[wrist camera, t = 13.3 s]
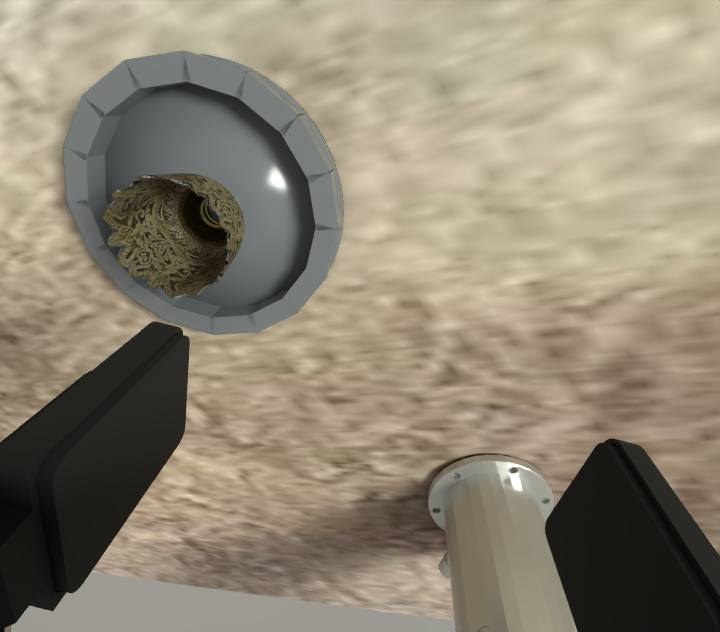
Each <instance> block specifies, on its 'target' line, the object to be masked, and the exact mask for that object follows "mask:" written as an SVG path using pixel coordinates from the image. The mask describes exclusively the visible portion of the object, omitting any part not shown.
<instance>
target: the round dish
mask: <svg viewBox="0 0 720 632" xmlns="http://www.w3.org/2000/svg"><path fill="white" fill-rule="evenodd" d="M63 153H64V168H65V184H66V199H67V201H69V202H67V203H68V206H69V208H70V210H71V213H72V215H73V217H74V220H75V222H76V224H77V226H78V229H79V231H80V233H81V236H82V238H83V240H84V243H85V245H86V247H87V249H88V252H90V254H91V256H92V257H93V258H94V259H95V260H96V262H97V263H98V264H99V265H100V266H101V267H102V269H103V270H104V271H105V272H106V273H107V274H108V276H109V277H110V278H111V279H112V280H113V281H114V283H115V284H116V285H117V286H118V287H119V288H120V290H121V291H122V292H123V293H125V295H127V296H128V297H130V298H131V299H133V300H134V301H136V302H137V303H139V304H141V305H142V306H144V307H145V308H147V309H148V310H150V311H151V312H153V313H154V314H156V315H157V316H159V317H160V318H162V319H164V320H165V321H167V320H168V322H170V323H173V324H177V325H180V326H184V327H187V328H191V329H194V330H198V331H201V332H205V333H208V334H212V335H220V334H237V333H254V332H259V331H261V330H264V329H266V328H268V327H270V326H272V325H274V324H276V323H278V322H280V321H282V320H284V319H286V318H288V317H290V316H293V315H295V314H297V313H298V312H299V310H300V309H301V308H302V307H303V306H304V304H305V303H306V302H307V301H308V299H309V298H310V297H311V296H312V295H313V293H314V292H315V291H316V290H317V289H318V287H319V286H320V285H321V284H322V282H323V281H324V280H325V279H326V277H327V274H328V272H329V270H330V267H331V265H332V264H333V262H334V259H335V256H336V253H337V250H338V248H339V245H340V240H341V234H342V229H343V215H344V209H343V195H342V189H341V184H340V179H339V175H338V172H337V169H336V165H335V162H334V159H333V157H332V155H331V152H330V150H329V148H328V146H327V144H326V142H325V140H324V138H323V136H322V135H321V133H320V132H319V130H318V128H317V127H316V125H315V124H314V122H313V121H312V119H311V118H310V117H309V116H308V114H307V113H306V112H305V111H304V110H303V108H302V107H301V106H300V105H299V104H298V103H297V102H296V101H295V100H294V99H293V98H292V97H291V96H290V95H289V94H288V93H287V92H286V91H285V90H283V89H282V88H281V87H279V86H278V85H277V84H275V83H274V82H273V81H271V80H270V79H269V78H267V77H265V76H263V75H262V74H260V73H258V72H256V71H255V70H253V69H251V68H249V67H246V66H244V65H241V64H239V63H236V62H234V61H231V60H227V59H223V58H219V57H215V56H210V55H203V54H196V53H192V52H188V51H177V52H171V53H165V54H158V55H152V56H146V57H140V58H133V59H127V60H126V61H125V60H124V61H123V62H121V63H120V64H119V65H118V66H117V67H115V68H114V69H113V70H112V71H111V72H109V73H108V74H107V75H106V76H105V77H103V78H102V79H101V80H100V81H99V82H97V83H96V84H95V85H94V86H93V87H91V88H90V89H89V90H88V91H87V92H85V93H84V94H83V96H82V97H81V100H80V102H79V105H78V108H77V110H76V113H75V116H74V118H73V121H72V124H71V126H70V129H69V132H68V134H67V137H66V139H65V142H64V147H63ZM177 173H187V174H197V175H201V176H205V177H208V178H210V179H213V180H215V181H217V182H218V183H220V184H221V185H223V186H224V187H225V188H226V189H227V190H228V191H229V192H230V193H231V194H232V195H233V196H234V198H235V199H236V201H237V202H238V204H239V206H240V208H241V211H242V214H243V218H244V225H245V230H244V237H243V241H242V244H241V247H240V249H239V251H238V253H237V255H236V256H235V258H234V260H233V261H232V263H231V264H230V266H229V267H228V269H227V270H226V271H225V273H224V275H223V276H222V278H221V279H220V281H219V282H218V283H217V284H216V282H215V283H214V284H213V285H212V286H209V287H207V288H205V289H204V290H203V291H202V293H201V294H199V295H198V296H196V297H190V295H188V296H183V297H180V298H170V297H169V296H168V295H166V294H165V293H164V291H163V289H161V288H157V289H152V290H149V289H148V284H147V283H148V279H149V278H144V279H142V278H140V277H133V276H129V274H128V272H129V269H128V267H124V266H122V265H120V264H119V262H118V259H117V256H118V254H119V252H120V250H121V249H122V247H123V246H122V247H115V246H111V245H109V244H108V243H107V242H108V238H109V237H110V235H112V234H113V231H112V229H111V228H110V227H109V226H108V225H107V224H106V223H105V222H104V220H103V217H104V214H105V212H106V209H107V208H108V206H109V205H110V204H111V203H112V202H113V201H114V199H112V198H111V196H112V194H113V193H114V192H115V191H116V190H118V189H123V188H126V187H128V186H129V185H130V184H131V182H133V181H136V178H135V177H138V176H145V175H162V174H177ZM208 212H209V214H210V216H211V217H212V218H213V219H214V220H216V221H219V217H218V216H217V214H216V213H215V212H214V211H213V210H211V209H210V208H209V206H208ZM117 246H120V245H117Z"/></svg>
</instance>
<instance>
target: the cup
mask: <svg viewBox="0 0 720 632" xmlns="http://www.w3.org/2000/svg"><path fill="white" fill-rule="evenodd" d="M135 178H136V181H133V182H131V184H130V185H129V186H128V187H126V188H123V189H118V190H116V191H115V192H114V193H113V194H112V196H111V198H112V199H114V201H113V202H112V203H111V204H110V205H109V206H108V208H107V209H106V212H105V214H104V217H103V220H104V222H105V223H106V224H107V225H108V226H109V227H110V228H111V229H112V231H113V234H112V235H110V237H109V238H108V242H107V243H108V244H109V245H111V246H115V247H122V246H123V247H122V249H121V250H120V252H119V254H118V256H117V259H118V262H119V264H120V265H122V266H124V267H128V269H129V272H128V274H129V276H133V277H140V278H142V279H144V278H149V279H148V283H147V284H148V289H149V290H152V289H157V288H161V289H163V291H164V293H165V294H166V295H168V296H169V297H170V298H180V297H183V296H188V295H190V297H196V296H198V295H199V294H201V293H202V291H203V290H204V289H205V288H207V287H209V286H212V285H213V284H214V283H215V282H216V284H217V283H218V282H219V281H220V279H221V278H222V276H223V275H224V273H225V271H226V270H227V269H228V267H229V266H230V264H231V263H232V261H233V260H234V258H235V256H236V255H237V253H238V251H239V249H240V247H241V244H242V241H243V237H244V230H245V225H244V218H243V214H242V211H241V208H240V206H239V204H238V202H237V201H236V199H235V198H234V196H233V195H232V194H231V193H230V192H229V191H228V190H227V189H226V188H225V187H224V186H223V185H221V184H220V183H218V182H217V181H215V180H213V179H210V178H208V177H205V176H201V175H197V174H187V173H177V174H162V175H145V176H138V177H135ZM208 206H209V208H210V209H211V210H213V211H214V212H215V213H216V214H217V216H218V217H219V221H216V220H214V219H213V218H212V217H211V216H210V214H209V212H208ZM117 245H120V246H117Z"/></svg>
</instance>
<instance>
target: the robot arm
mask: <svg viewBox="0 0 720 632" xmlns="http://www.w3.org/2000/svg"><path fill="white" fill-rule="evenodd" d="M189 344H190V342H189V337H187V336H184V335H183V331H182V329H181V328H179V327H175V326H172V325H168V324H164V323H160V322H152V323H150V324H149V325H147V326H146V327H145V328H144V329H143V330H141V331H140V332H139V333H138V334H136V335H135V336H134V337H133V338H132V339H130V340H129V341H128V342H127V343H125V344H124V345H123V346H122V347H121V348H119V349H118V350H117V351H116V352H114V353H113V354H112V355H111V356H110V357H108V358H107V359H106V360H105V361H103V362H102V363H101V364H100V365H99V366H97V367H96V368H95V369H94V370H92V371H90V372H88V373H86V374H85V375H83V376H82V377H81V378H79V379H78V380H77V381H76V382H74V383H73V384H72V385H71V386H70V387H68V388H67V389H66V390H65V391H63V392H62V393H61V394H60V395H58V396H57V397H56V398H55V399H53V400H52V401H51V402H50V403H48V404H47V405H46V406H45V407H44V408H42V409H41V410H40V411H39V412H37V413H36V414H35V415H34V416H32V417H31V418H30V419H29V420H27V421H26V422H25V423H24V424H23V425H21V426H20V427H19V428H18V429H16V430H15V431H14V432H13V433H11V434H10V435H9V436H8V437H6V438H5V439H4V440H3V441H2V442H0V632H11V625H12V624H14V623H16V622H17V621H18V619H19V618H20V617H21V615H22V614H23V613H24V611H25V610H26V609H27V608H28V606H29V605H30V606H34V607H38V608H42V609H46V610H50V611H53V610H54V609H55V607H56V606H57V605H58V603H59V602H60V601H61V599H62V598H63V596H64V595H65V594H66V592H68V593H74V592H75V591H77V590H78V589H79V588H80V586H81V585H82V584H83V583H84V581H85V580H86V578H87V577H88V575H89V574H90V572H91V571H92V570H93V568H94V567H95V565H96V564H97V562H98V561H99V559H100V558H101V557H102V555H103V554H104V552H105V551H106V549H107V548H108V546H109V545H110V543H111V542H112V541H113V539H114V538H115V536H116V535H117V533H118V532H119V530H120V529H121V527H122V526H123V525H124V523H125V522H126V520H127V519H128V517H129V516H130V514H131V513H132V511H133V510H134V509H135V507H136V506H137V504H138V503H139V501H140V500H141V498H142V497H143V495H144V494H145V493H146V491H147V490H148V488H149V487H150V485H151V484H152V482H153V481H154V480H155V478H156V477H157V475H158V474H159V472H160V471H161V469H162V468H163V466H164V465H165V464H166V462H167V461H168V459H169V458H170V456H171V455H172V453H173V452H174V450H175V449H176V448H177V446H178V445H179V443H180V441H181V439H182V437H183V434H184V431H185V421H186V402H187V383H188V363H189ZM553 499H554V497H553V494H552V491H551V488H550V485H549V483H548V481H547V479H546V478H545V477H544V475H543V474H542V473H541V472H540V471H539V470H538V469H536V468H535V467H534V466H532V465H531V464H529V463H527V462H525V461H523V460H519V459H516V458H513V457H509V456H503V455H480V456H473V457H469V458H465V459H462V460H460V461H457V462H455V463H452V464H451V465H449V466H448V467H446V468H444V469H443V470H442V471H441V472H440V473H439V474H438V475H437V476H436V477H435V478H434V480H433V481H432V483H431V485H430V488H429V490H428V508H429V511H430V514H431V517H432V518H433V520H434V521H435V523H436V524H437V525H438V526H439V527H440V528H441V529H443V530H444V531H446V540H447V552H446V553H445V555H444V557H443V558H442V560H441V561H440V563H439V570H440V572H441V573H442V574H443V575H444V576H445V577H447V578H450V580H451V590H452V600H453V610H454V620H455V630H456V632H720V556H719V555H718V553H717V552H716V550H715V549H714V548H713V546H712V545H711V543H710V542H709V541H708V539H707V538H706V536H705V535H704V533H703V532H702V531H701V529H700V528H699V526H698V525H697V524H696V522H695V521H694V519H693V518H692V517H691V515H690V514H689V512H688V511H687V509H686V508H685V507H684V505H683V504H682V502H681V501H680V500H679V498H678V497H677V495H676V494H675V493H674V491H673V490H672V488H671V487H670V486H669V484H668V483H667V481H666V480H665V478H664V477H663V476H662V474H661V473H660V471H659V470H658V469H657V467H656V466H655V464H654V463H653V462H652V460H651V459H650V457H649V456H648V454H647V453H646V452H645V450H644V449H643V448H642V447H641V446H639V445H637V444H633V443H629V442H625V441H621V440H617V439H608V440H606V441H605V442H604V443H599V444H598V445H597V446H596V447H595V448H594V450H593V451H592V453H591V454H590V456H589V457H588V459H587V460H586V462H585V463H584V465H583V466H582V468H581V469H580V471H579V472H578V474H577V475H576V477H575V478H574V480H573V481H572V482H571V484H570V485H569V487H568V488H567V490H566V491H565V493H564V494H563V496H562V497H561V499H560V500H559V502H558V503H557V505H556V506H555V508H554V509H553ZM552 509H553V511H552Z"/></svg>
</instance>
